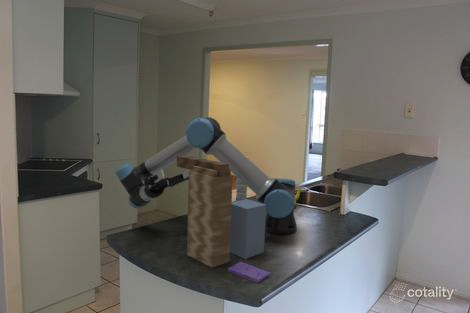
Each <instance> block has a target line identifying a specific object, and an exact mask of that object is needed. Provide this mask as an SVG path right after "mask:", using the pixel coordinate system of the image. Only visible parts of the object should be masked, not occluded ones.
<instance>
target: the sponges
mask: <svg viewBox="0 0 470 313" xmlns="http://www.w3.org/2000/svg"><path fill="white" fill-rule="evenodd" d="M227 272H228V273H230V274H233V275H236V276H238V277H240V278H244V279H245V280H248V281H250V280H251V282H253V281H254V282H253V283H255V282H257V283H256V284H259V283H261V282H263V281H264V280H266V279H268V278H269V277H270V274H271V272H270V271H266V270H263V269H260V268H258V267H256V266H253V265H250V264H247V263H245V262H242V261H239V262H238V263H235V264H234V265H232V266H229V267H228V268H227ZM267 277H268V278H267ZM265 278H266V279H265ZM263 279H264V280H263ZM260 281H261V282H260ZM258 282H259V283H258Z"/></svg>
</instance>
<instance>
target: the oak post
mask: <svg viewBox="0 0 470 313" xmlns="http://www.w3.org/2000/svg"><path fill="white" fill-rule="evenodd" d="M217 174H218V171H216V170H212V169H207V168H203V167H198V166H194V165H192V166H191V171H189V179H188V186H187V187H188V188H187V189H188V192H187V193H188V194H187V195H188V196H187V236H186V237H187V246H186V247H187V248H186V255H187V256H188V257H190V258H192V259H194V260H195V261H198V262H200V263H203V264H204V265H206V266H208V267H210V268H212V269H213V268H215V267H218V266H221V265H225V264H227V263H229V262H230V260H231V259H230V255H231V254H230V234H231V207H232V202H233V201H232V200H233V176H234V174H232V172H231V169H229V174H228V176H223V177H218V176H217Z"/></svg>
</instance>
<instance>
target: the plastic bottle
mask: <svg viewBox="0 0 470 313" xmlns="http://www.w3.org/2000/svg"><path fill="white" fill-rule="evenodd" d="M235 189H236V192H235V201H234V202H236V201H241V200H245V199H248V197H247V195H248V194H247V192H248V186H247V185H246V184H244V183H243V182H242V181H241V180H240V179H239V178H238V177H236V180H235Z"/></svg>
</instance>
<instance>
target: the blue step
mask: <svg viewBox="0 0 470 313" xmlns="http://www.w3.org/2000/svg"><path fill="white" fill-rule="evenodd" d="M266 214H267V212H266V204H262V203H260V202H259V201H254V200H252V199H248V198H247V199H245V200H241V201H236V202H235V201H232V207H231V234H230V253H231V254H233V255H235V256H238V257H240V258H242V259H245V260H247V259H250V258H252V257H255V256H258V255H261V254H264V252H265V241H266V240H265V238H266V237H265V236H266V231H265V220H266Z"/></svg>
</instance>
